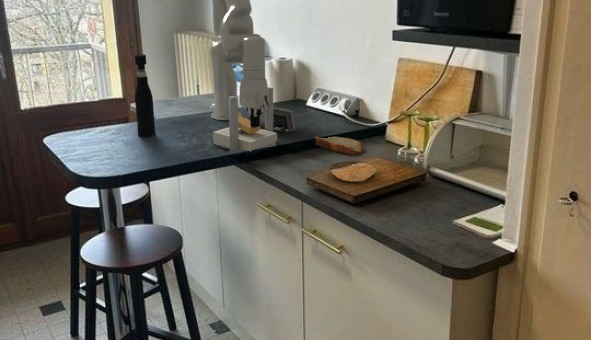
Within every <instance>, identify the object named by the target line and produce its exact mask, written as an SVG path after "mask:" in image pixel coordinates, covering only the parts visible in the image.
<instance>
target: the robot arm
mask: <svg viewBox="0 0 591 340" xmlns="http://www.w3.org/2000/svg"><path fill="white" fill-rule="evenodd" d="M211 1H212V22H213V24H212V25H213V26H212V27H213V34H214V35H215V36H216V37H218V38H220V40H218V41H215V42H213V43H212V44H211V45H210V48H209V49H210V50H209V52H210V58H211V63H212V71H213V75H212V76H213V78H212V79H213V95H214V96H213V99H214V100H213V101H214V103H212V104H211V105H210V106H209V110H212V113H211V114H210V115H211V118H212V119H214V120H218V121H229V97H230V96H236V97H238V81H237V80H238V79H237V73H236V71H235V70H234V69H233V68H232V67H231V65H239V64H241V65H242V70H241V73H242V77H241V78H240V83H239V105H240V106H241V108H243V109H244V110H246V111H247V112H248V116H249V118H250V119H249V120H250V127H253V128H256V127H259V126H260V127H261V116H262V114H263V113H265V112H267V111H268V109H267V107H268V105H269V93H268V86H269V85H268V80H267V78H266V41H265V38H264V37H262V36H261V35H260V34H258V33H254V21H253V18H252V16H251V15H250V14H251V13H252V10H253V9H252V5H251V0H211ZM238 116H242V113H241V112H240V111H238Z"/></svg>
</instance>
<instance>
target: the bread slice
mask: <svg viewBox="0 0 591 340" xmlns="http://www.w3.org/2000/svg"><path fill="white" fill-rule="evenodd" d="M315 137H316V136H315ZM315 145H317V146H319V147H321V148H324V149H327V150H328V151H332V152H336V153H340V154H343V155H349V156H361V155H364V153H365V149H364V147H363V143H362V142H361V141H358V140H357V139H354V138H353V139H352V138H349V137H339V136H333V137H328V138H319V137H316V144H315Z"/></svg>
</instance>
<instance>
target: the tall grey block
mask: <svg viewBox="0 0 591 340" xmlns="http://www.w3.org/2000/svg"><path fill="white" fill-rule="evenodd" d="M268 93H269V105H268V107H267V109H268V111H267V112H264V130H267V131H271V132H274V130H273V107H274V88H273V87H270V86H269V87H268Z"/></svg>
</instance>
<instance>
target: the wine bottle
mask: <svg viewBox="0 0 591 340" xmlns="http://www.w3.org/2000/svg"><path fill="white" fill-rule="evenodd" d="M134 62H135V63H134V64H135V65H136V66H137V72H136V75H137V76H136V84H137V85H136V88H135V91H134V92H135V93H134V104H135V115H136V125H137V128H136V129H137V136H138V137H139V138H151V137H155V136H156V123H155V121H156V120H155V111H154V99H153V93H152V90H151V88H150V85H149V81H148V76H147V71H146V65H147V54H142V53H139V54H135V55H134Z"/></svg>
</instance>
